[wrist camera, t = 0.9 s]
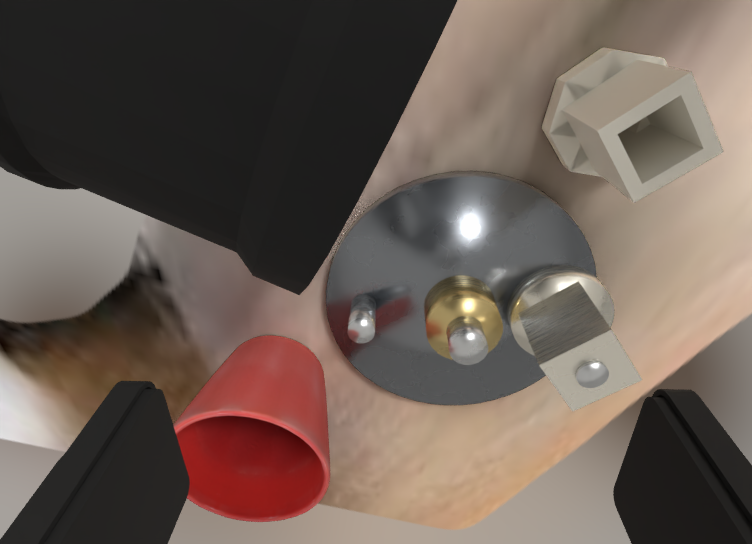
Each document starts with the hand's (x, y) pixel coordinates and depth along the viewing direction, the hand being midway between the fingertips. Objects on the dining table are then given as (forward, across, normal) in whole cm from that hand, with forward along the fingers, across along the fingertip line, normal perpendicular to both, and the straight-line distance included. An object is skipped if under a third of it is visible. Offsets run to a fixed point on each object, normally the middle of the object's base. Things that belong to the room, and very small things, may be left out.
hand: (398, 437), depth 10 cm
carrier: (+23, -4, +12) cm, 26 cm away
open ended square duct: (+24, -12, -2) cm, 27 cm away
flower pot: (+24, +10, +19) cm, 32 cm away
